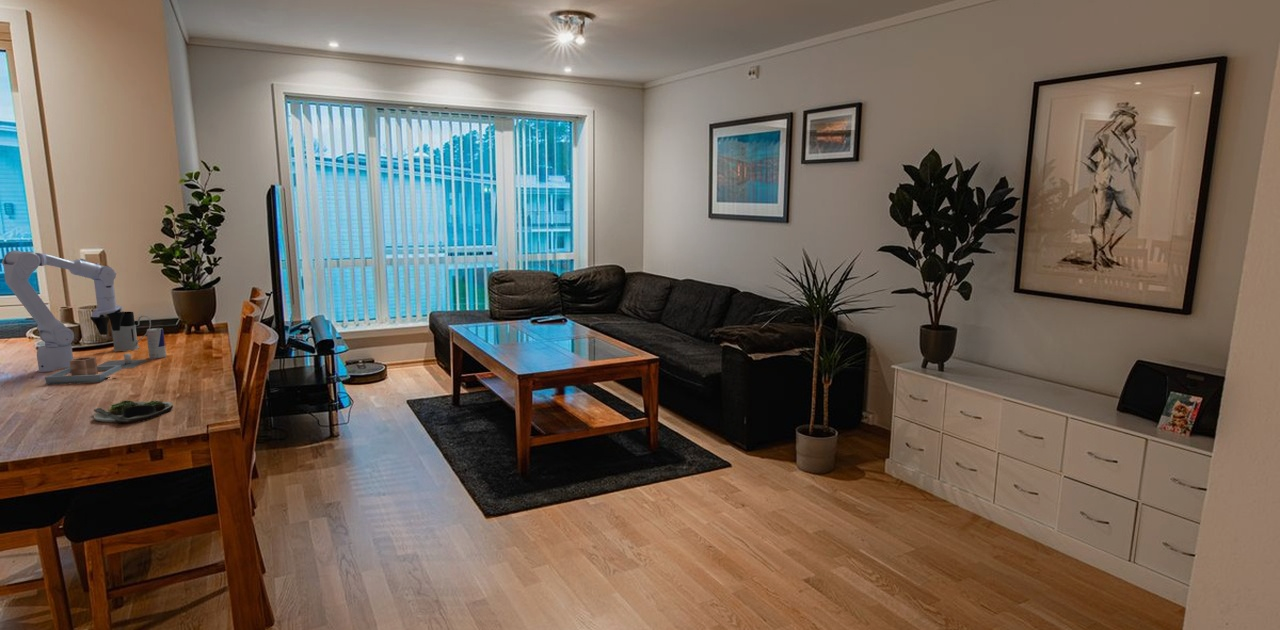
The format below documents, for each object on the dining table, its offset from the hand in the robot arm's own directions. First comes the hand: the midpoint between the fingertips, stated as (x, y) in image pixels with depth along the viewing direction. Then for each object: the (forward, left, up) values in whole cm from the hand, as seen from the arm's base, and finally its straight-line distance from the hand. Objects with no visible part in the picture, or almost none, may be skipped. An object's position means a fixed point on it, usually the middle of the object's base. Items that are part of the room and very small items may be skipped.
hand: (110, 332), depth 263 cm
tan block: (+5, -29, -10) cm, 31 cm away
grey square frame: (+5, -29, -10) cm, 31 cm away
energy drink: (+17, -4, -11) cm, 20 cm away
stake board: (+9, -14, -10) cm, 20 cm away
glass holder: (-1, +18, -11) cm, 21 cm away
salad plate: (+41, -76, -11) cm, 87 cm away
